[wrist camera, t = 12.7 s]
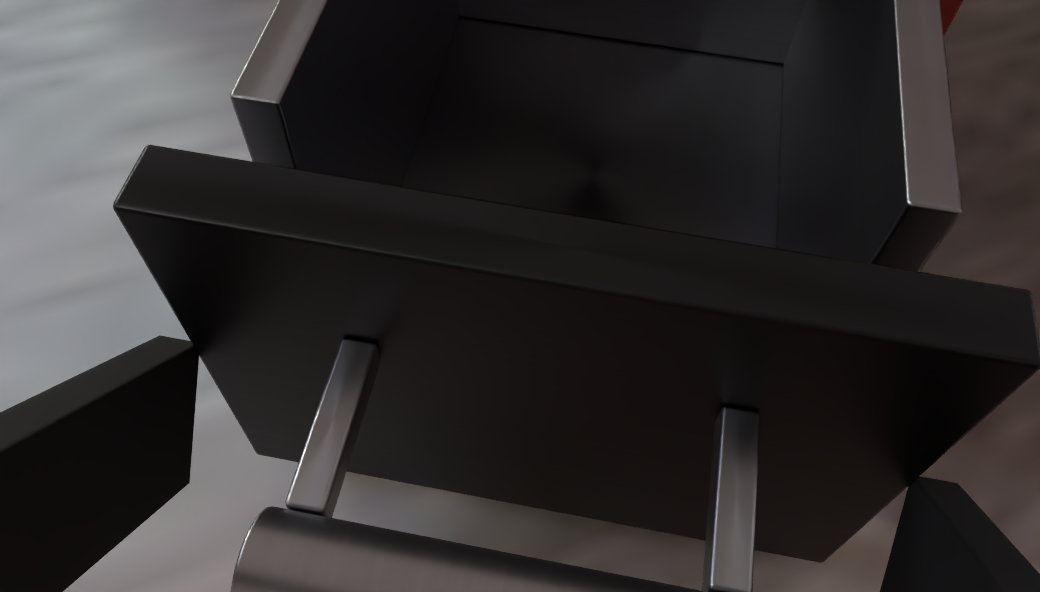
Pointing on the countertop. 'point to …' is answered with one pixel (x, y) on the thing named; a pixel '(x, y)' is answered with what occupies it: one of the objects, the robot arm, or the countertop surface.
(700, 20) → the black drawer
